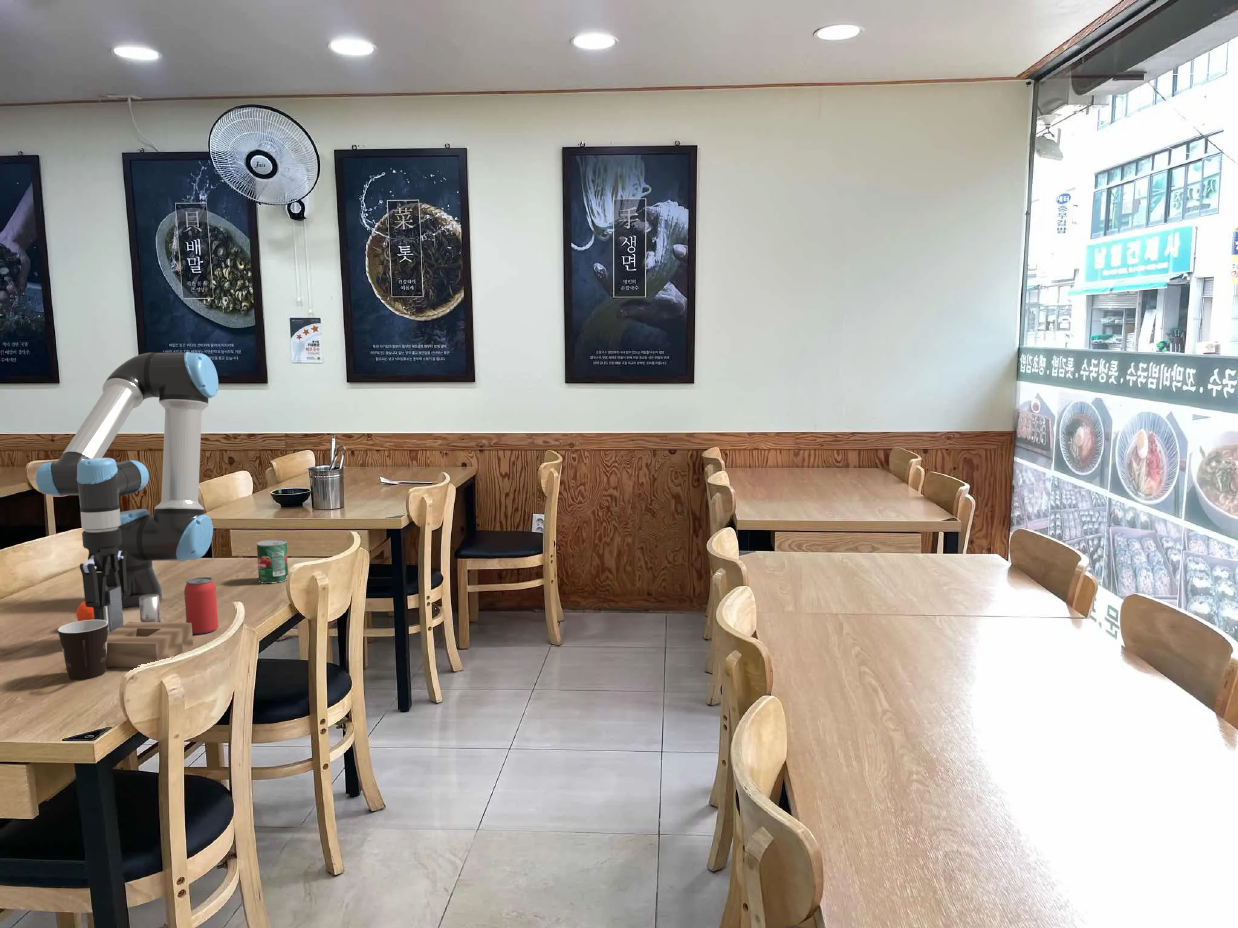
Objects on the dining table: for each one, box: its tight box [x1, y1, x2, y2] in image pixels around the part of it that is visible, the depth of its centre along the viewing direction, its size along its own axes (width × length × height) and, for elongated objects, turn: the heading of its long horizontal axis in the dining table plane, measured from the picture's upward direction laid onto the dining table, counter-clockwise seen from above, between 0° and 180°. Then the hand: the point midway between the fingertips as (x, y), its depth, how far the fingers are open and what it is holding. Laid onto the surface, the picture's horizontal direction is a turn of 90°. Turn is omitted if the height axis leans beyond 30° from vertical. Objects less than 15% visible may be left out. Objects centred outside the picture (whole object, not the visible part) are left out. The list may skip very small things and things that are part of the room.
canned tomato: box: [256, 538, 289, 583], centre depth 251 cm, size 8×8×11 cm
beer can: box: [183, 576, 219, 635], centre depth 206 cm, size 7×7×12 cm
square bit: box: [93, 586, 124, 632], centre depth 199 cm, size 4×4×12 cm
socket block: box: [106, 621, 194, 668], centre depth 190 cm, size 14×14×5 cm
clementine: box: [76, 600, 94, 622], centre depth 209 cm, size 8×7×7 cm
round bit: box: [138, 594, 162, 622], centre depth 199 cm, size 4×4×10 cm
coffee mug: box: [57, 620, 108, 681], centre depth 177 cm, size 12×9×10 cm
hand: (109, 631), depth 199 cm, fingers closed on square bit, 4 cm apart
